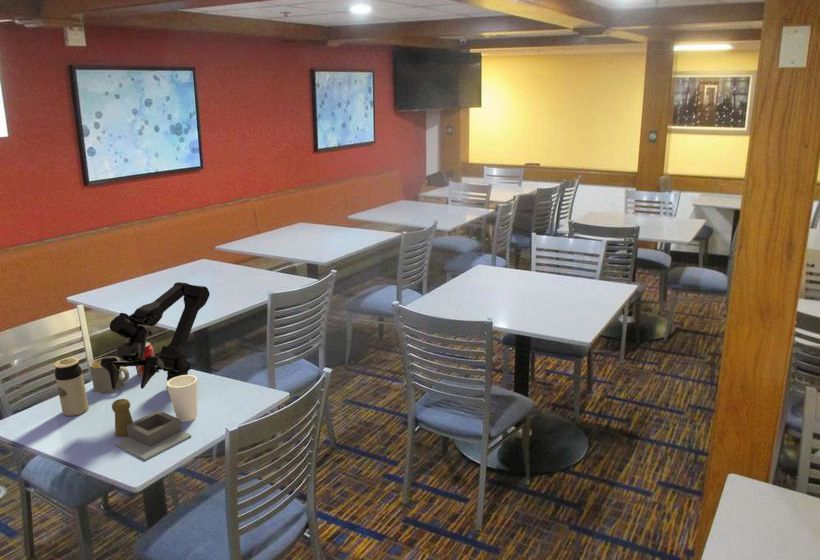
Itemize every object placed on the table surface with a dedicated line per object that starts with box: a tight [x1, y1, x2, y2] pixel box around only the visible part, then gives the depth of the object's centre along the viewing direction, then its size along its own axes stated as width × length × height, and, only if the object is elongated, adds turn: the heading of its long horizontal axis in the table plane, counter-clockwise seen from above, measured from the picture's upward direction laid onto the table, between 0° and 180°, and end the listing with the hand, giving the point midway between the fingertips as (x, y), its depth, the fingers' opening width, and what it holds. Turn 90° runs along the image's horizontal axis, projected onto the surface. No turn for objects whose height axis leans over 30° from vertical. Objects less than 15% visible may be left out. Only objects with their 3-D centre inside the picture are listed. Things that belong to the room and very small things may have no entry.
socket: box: [114, 410, 192, 461], centre depth 204 cm, size 16×16×5 cm
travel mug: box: [53, 357, 90, 417], centre depth 223 cm, size 8×8×18 cm
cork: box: [111, 398, 134, 438], centre depth 209 cm, size 6×6×11 cm
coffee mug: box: [89, 355, 130, 394], centre depth 241 cm, size 13×10×10 cm
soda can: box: [135, 341, 155, 377], centre depth 251 cm, size 7×7×12 cm
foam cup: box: [166, 374, 199, 423], centre depth 217 cm, size 10×9×13 cm
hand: (127, 388), depth 213 cm, fingers open, 9 cm apart
